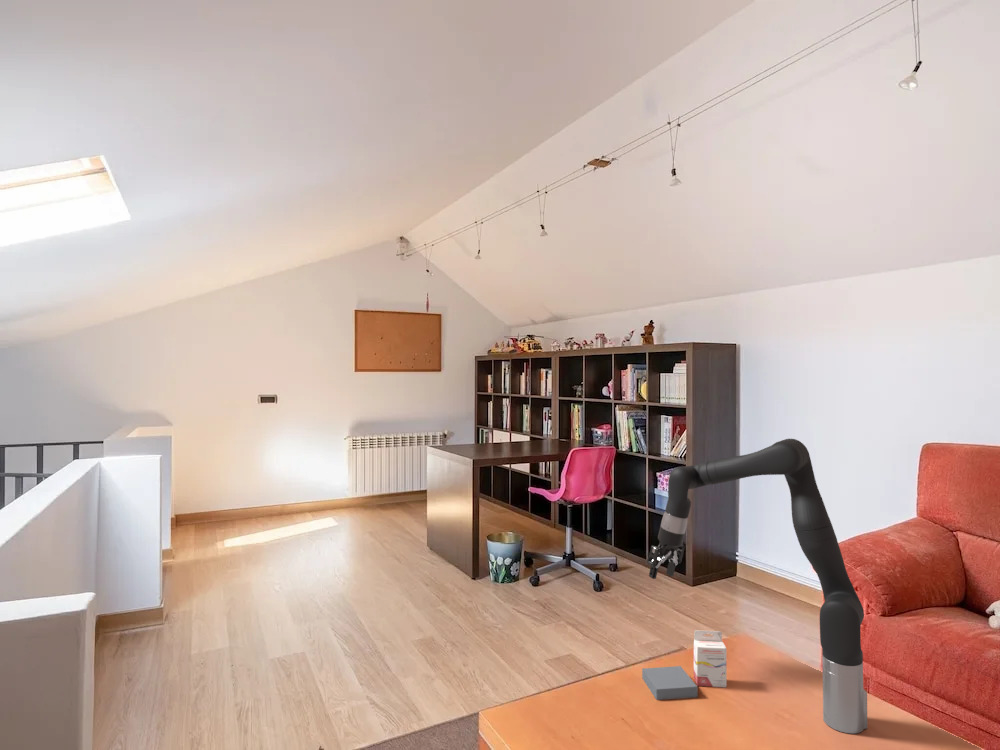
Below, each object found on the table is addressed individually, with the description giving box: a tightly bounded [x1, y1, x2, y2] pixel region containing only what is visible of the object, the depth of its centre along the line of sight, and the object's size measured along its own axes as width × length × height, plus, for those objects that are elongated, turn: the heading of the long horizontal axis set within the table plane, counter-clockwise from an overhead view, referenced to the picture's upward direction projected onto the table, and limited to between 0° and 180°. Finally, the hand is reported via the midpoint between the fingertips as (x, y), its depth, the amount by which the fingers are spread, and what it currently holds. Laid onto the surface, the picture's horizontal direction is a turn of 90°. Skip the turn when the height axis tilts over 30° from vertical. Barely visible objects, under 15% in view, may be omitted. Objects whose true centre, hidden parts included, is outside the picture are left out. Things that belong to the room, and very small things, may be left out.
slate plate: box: [641, 665, 699, 701], centre depth 176 cm, size 12×12×3 cm
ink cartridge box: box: [693, 629, 727, 688], centre depth 178 cm, size 9×5×15 cm, turn 84°
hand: (660, 576), depth 189 cm, fingers open, 8 cm apart
